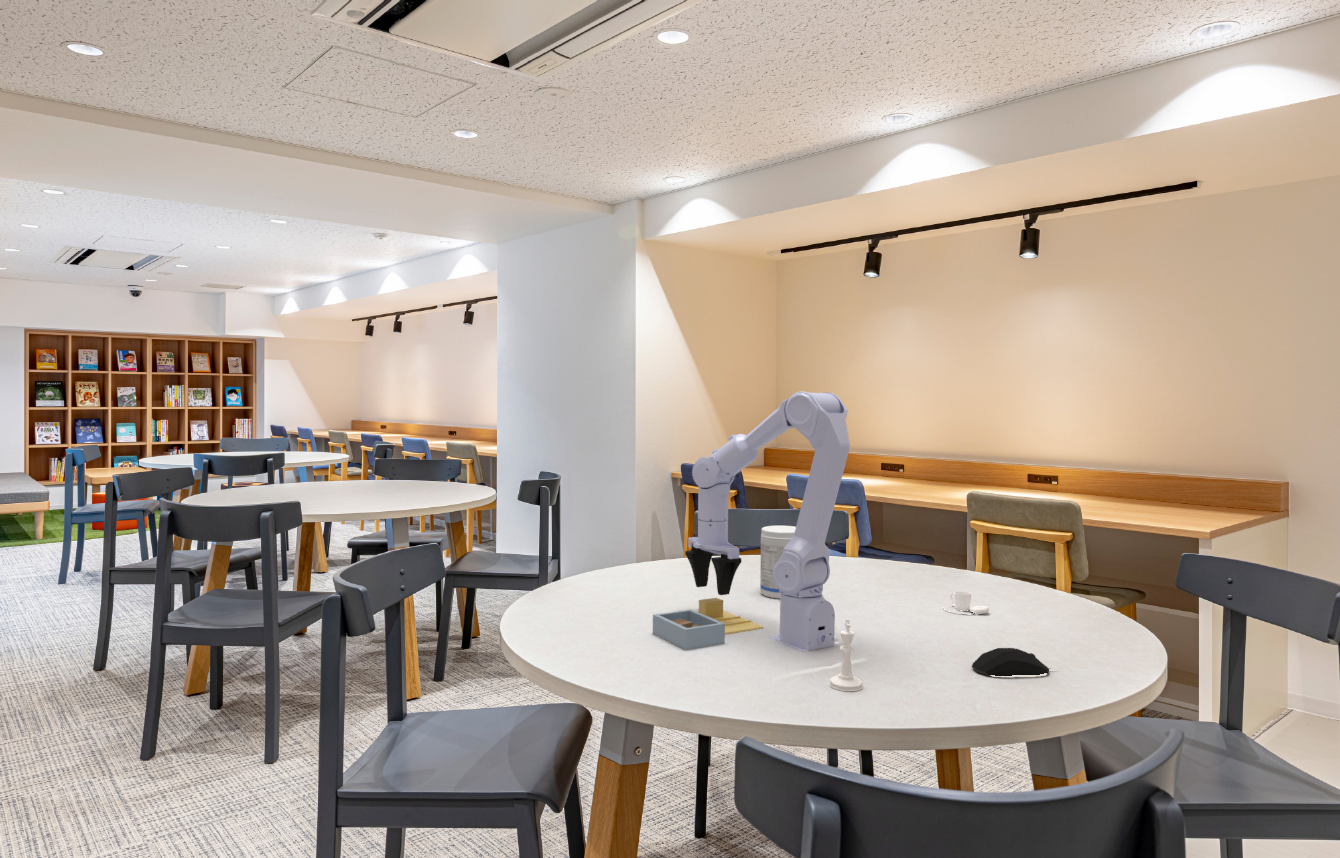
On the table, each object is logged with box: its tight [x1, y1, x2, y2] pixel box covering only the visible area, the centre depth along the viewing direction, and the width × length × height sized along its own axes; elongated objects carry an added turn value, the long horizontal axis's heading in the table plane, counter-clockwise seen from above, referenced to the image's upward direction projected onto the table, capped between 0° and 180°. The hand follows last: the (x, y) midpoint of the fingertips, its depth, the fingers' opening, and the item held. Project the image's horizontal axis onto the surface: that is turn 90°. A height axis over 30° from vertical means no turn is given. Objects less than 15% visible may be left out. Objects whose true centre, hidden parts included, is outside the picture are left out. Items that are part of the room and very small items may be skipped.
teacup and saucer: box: [942, 590, 990, 615], centre depth 165 cm, size 9×8×4 cm
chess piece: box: [828, 618, 864, 693], centre depth 120 cm, size 5×5×10 cm
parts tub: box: [652, 609, 726, 651], centre depth 141 cm, size 11×8×4 cm
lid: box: [698, 597, 764, 636], centre depth 151 cm, size 13×10×4 cm
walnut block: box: [673, 619, 692, 628], centre depth 141 cm, size 3×3×3 cm
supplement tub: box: [759, 525, 796, 600], centre depth 177 cm, size 10×10×15 cm
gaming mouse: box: [971, 647, 1050, 676], centre depth 128 cm, size 6×15×4 cm, turn 94°
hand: (712, 590), depth 154 cm, fingers open, 7 cm apart
